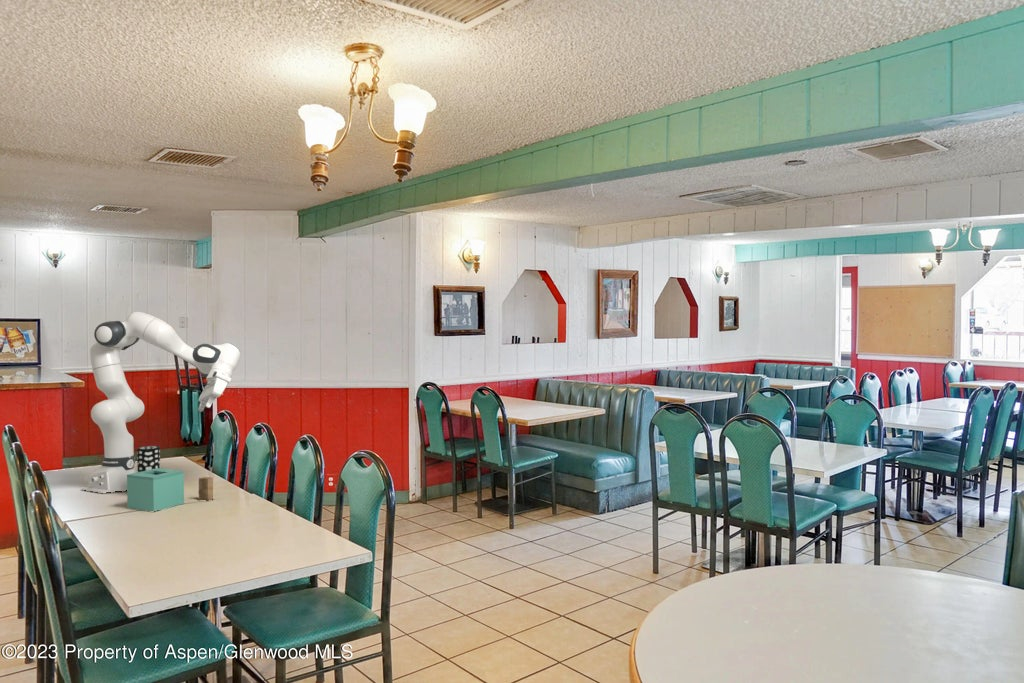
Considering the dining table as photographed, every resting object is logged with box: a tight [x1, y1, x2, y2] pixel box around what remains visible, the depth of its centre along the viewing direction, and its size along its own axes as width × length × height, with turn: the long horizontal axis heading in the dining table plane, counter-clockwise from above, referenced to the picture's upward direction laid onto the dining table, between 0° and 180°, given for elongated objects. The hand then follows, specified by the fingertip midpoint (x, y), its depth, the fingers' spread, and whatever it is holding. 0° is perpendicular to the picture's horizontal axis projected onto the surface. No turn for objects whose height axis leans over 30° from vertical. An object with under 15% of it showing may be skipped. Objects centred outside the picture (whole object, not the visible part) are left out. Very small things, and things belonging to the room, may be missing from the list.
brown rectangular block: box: [198, 476, 214, 502], centre depth 293 cm, size 5×2×9 cm, turn 66°
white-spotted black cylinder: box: [136, 445, 161, 473], centre depth 300 cm, size 8×8×20 cm
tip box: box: [126, 467, 185, 512], centre depth 283 cm, size 14×14×13 cm
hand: (203, 409), depth 301 cm, fingers open, 8 cm apart
